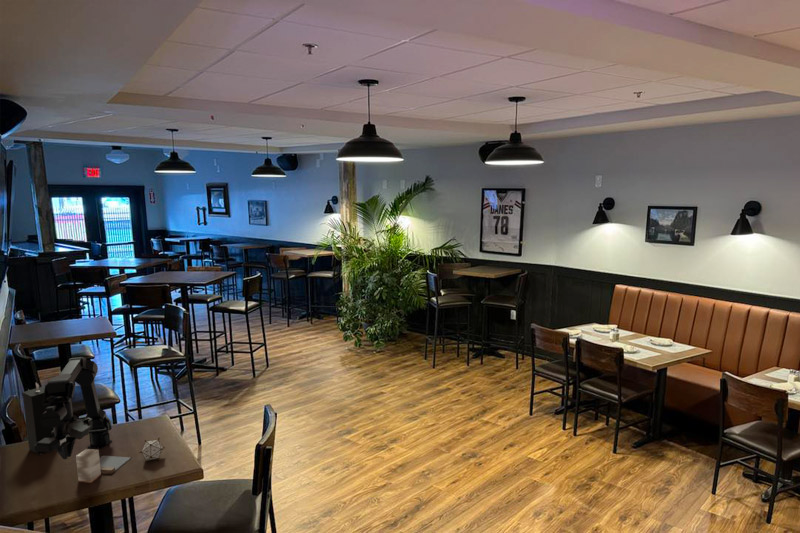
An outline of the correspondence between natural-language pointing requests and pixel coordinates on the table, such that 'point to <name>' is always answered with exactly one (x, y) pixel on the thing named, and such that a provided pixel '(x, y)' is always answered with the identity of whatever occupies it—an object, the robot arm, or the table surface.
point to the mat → (113, 461)
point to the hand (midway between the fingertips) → (67, 457)
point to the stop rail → (107, 470)
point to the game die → (152, 449)
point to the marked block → (88, 465)
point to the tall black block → (35, 417)
